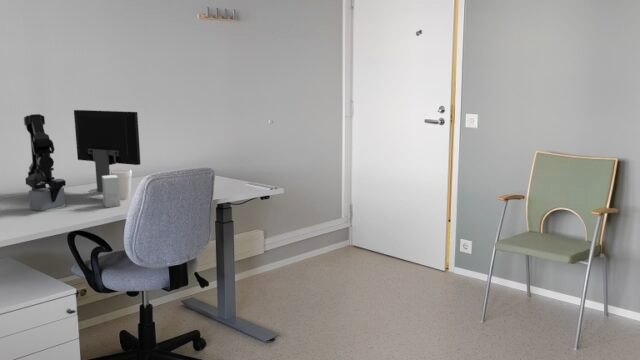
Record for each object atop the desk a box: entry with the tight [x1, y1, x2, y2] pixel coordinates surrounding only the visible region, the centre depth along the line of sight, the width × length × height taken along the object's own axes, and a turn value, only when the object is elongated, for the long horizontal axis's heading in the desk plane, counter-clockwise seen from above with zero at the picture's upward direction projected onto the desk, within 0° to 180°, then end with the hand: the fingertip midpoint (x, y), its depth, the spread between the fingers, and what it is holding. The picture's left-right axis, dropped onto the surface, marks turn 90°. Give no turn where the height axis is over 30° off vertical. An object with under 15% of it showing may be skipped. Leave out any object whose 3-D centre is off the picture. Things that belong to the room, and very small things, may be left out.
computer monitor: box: [73, 109, 142, 194], centre depth 299 cm, size 41×8×40 cm, turn 63°
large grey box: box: [28, 186, 66, 211], centre depth 268 cm, size 8×12×8 cm, turn 154°
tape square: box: [33, 205, 66, 212], centre depth 269 cm, size 10×10×1 cm
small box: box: [102, 174, 121, 208], centre depth 272 cm, size 8×6×13 cm
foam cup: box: [110, 169, 133, 201], centre depth 286 cm, size 10×9×13 cm
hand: (47, 201), depth 268 cm, fingers closed on large grey box, 7 cm apart
